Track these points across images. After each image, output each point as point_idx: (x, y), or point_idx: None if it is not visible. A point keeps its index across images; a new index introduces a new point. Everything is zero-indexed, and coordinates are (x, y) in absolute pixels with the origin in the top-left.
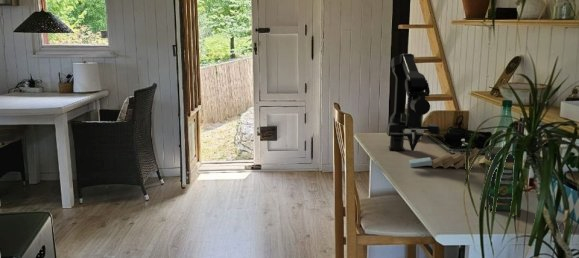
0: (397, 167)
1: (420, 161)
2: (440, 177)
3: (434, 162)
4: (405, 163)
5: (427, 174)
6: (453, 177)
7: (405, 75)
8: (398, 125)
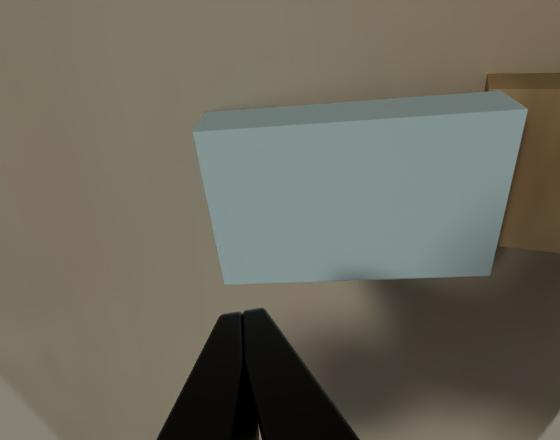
0: (91, 291)
1: (350, 258)
2: (447, 410)
3: (517, 214)
4: (146, 94)
5: (370, 384)
6: (537, 385)
7: None
8: None
